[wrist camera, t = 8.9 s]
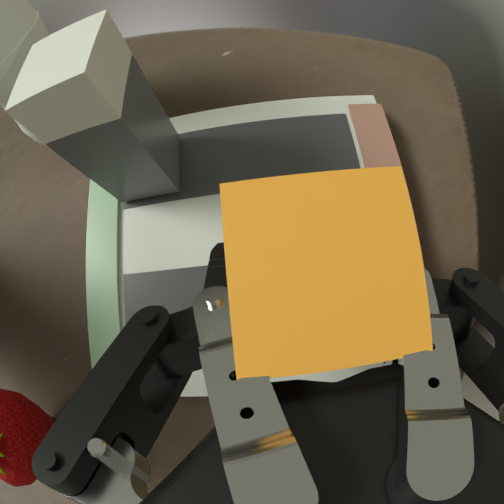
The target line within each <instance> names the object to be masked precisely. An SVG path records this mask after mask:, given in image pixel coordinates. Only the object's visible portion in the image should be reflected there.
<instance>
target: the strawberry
mask: <svg viewBox="0 0 504 504" xmlns="http://www.w3.org/2000/svg"><path fill="white" fill-rule="evenodd" d="M54 422H55V421H54V419H53V418H52V417H51V416H49V415H48V414H46V413H45V412H44V411H43V410H42V409H41V408H40V407H39V406H38V405H36V404H35V403H33V402H32V401H30V400H29V399H27V398H26V397H25V396H23V395H22V394H20V393H17V392H13V391H9V390H4V389H0V479H2V480H3V481H5V482H7V483H8V484H10V485H12V486H16V487H17V486H24V485H29V484H32V483H33V482H35V480H36V479H37V478H36V476H35V475H34V472H33V469H32V459H33V455H34V453H35V451H36V449H37V448H38V446H39V445H40V443H41V442H42V440H43V439H44V437H45V436H46V434H47V433H48V431H49V430H50V428H51V427H52V425H53V424H54Z"/></svg>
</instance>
